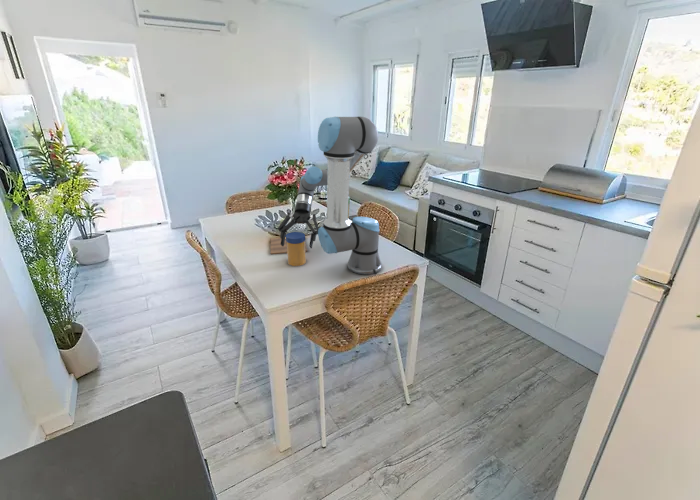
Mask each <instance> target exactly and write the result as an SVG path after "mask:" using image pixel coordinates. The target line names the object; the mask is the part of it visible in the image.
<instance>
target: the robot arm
mask: <svg viewBox="0 0 700 500" xmlns="http://www.w3.org/2000/svg"><path fill="white" fill-rule="evenodd" d="M378 142H379V131H378V127H377V126H376V124H375V123H374V122H373V121H372V119H370V118H367V117H366V116H330V117H326V118H324V119H323V120H321V123H320V124H319V127H318V131H317V143H318V148H319V150H320V151H321V152H323V156H324V157H325V158H326V159H327V164H326V165H327V166H326V167H327V168H324V169H321V168H320V167H318V166H315V165H314V166H310V167H308V169H307V170H306V171H305V172H304V175H302V176H301V177H300V181H299V186H298V191H297V196H296V202H295V207H294V213H290V212H287V213H286V216H285V218H284V219H283V221H282V222H281V223H280V225H278V227H277V230H278V232H280V235H279V238H281V245H282V246H284V242H285V237H286V234H287V231H289V230H290V229H291V228H292V227H293V226H294V225H296V224H298V225H300V224H302V225H305V224H306V225H307V226H308V227H307V228H309V230H310V231H311V233H310V239H309V244H308V246H309V248H310V249H313V244H314V242H316V241H317V240H316V238H318V241H319V244H320V247H321V249H322V250H323V251H324V253H326V254H328V255H332V254H338V253H343V252H348V251H351V253H350V256H349V259H348V261H347V269H348V270H349V271H350V272H351V273H353V274H356V275H357V274H358V275H364V276H367V275H377V273H379V272H380V271H381V270H382V261H381V258H380V254H379V239H380V223H379V222H378V220H376V219H374V218H372V217H369V216H354V217H353V218H352V219H348V202H349V197H350V178H351V172H352V171H353V169H355V167H356V166H357V165H358V164H359V162H361V160H363V158H364V157H365V156H366V155H368V154H370V153H371V152H373V150H374V149H375V147H376V146H377V144H378ZM323 186H324V187H325V186H326V218H325V219H324V220H323V224H322V226H320V227H319V225H318V222H317V215H316V214H315V213H313V214H311V212H312V205H313V200H314V199H313V198H314V195H315V194H314V193H315V191H316V189H317V188H318V187H323ZM310 219H311V220H312V221H313V224H314V227H315V228H314V227H313V226H312V224H311V222H310V221H309V220H310ZM317 236H318V237H317Z"/></svg>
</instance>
